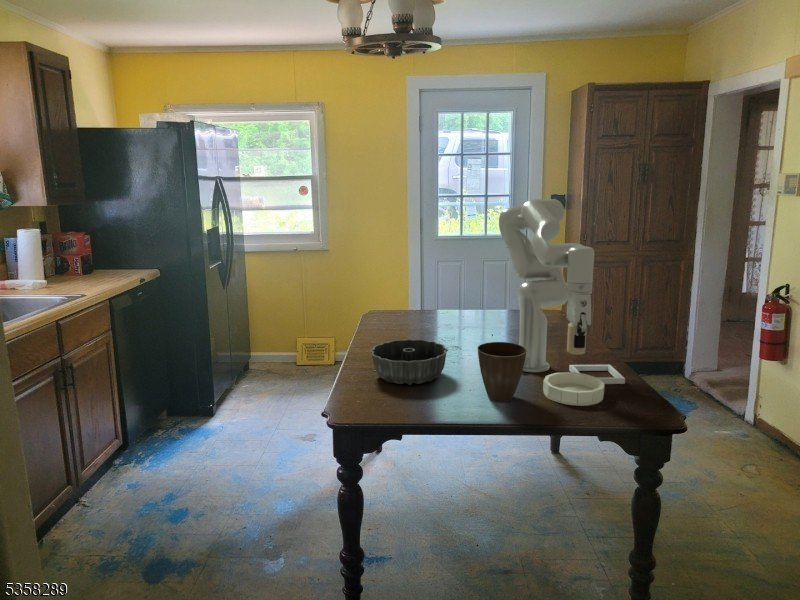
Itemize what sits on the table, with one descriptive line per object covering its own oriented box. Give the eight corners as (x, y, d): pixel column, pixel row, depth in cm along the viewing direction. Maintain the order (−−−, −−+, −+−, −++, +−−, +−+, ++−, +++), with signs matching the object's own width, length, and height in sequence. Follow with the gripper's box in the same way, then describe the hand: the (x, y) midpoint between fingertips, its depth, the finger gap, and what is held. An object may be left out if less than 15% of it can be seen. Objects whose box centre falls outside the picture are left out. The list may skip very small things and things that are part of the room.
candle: (581, 349, 184) (583, 318, 182) (587, 354, 178) (589, 322, 176) (564, 349, 184) (566, 318, 182) (570, 354, 178) (571, 323, 176)
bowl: (578, 410, 172) (579, 396, 171) (531, 392, 186) (532, 379, 185) (615, 396, 182) (616, 383, 181) (568, 380, 196) (568, 368, 195)
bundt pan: (357, 384, 196) (356, 355, 194) (390, 361, 219) (390, 335, 217) (430, 395, 185) (430, 365, 183) (457, 370, 209) (457, 343, 206)
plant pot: (534, 397, 182) (536, 348, 179) (506, 411, 172) (507, 359, 168) (495, 385, 192) (496, 339, 189) (466, 397, 182) (467, 348, 179)
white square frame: (624, 383, 193) (625, 378, 193) (581, 384, 193) (581, 378, 193) (609, 369, 207) (609, 364, 207) (569, 369, 207) (569, 364, 207)
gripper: (601, 292, 168) (597, 352, 172) (582, 282, 185) (579, 337, 189) (575, 293, 168) (571, 353, 172) (559, 282, 185) (556, 337, 189)
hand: (576, 344), depth 181 cm, fingers closed on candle, 5 cm apart
